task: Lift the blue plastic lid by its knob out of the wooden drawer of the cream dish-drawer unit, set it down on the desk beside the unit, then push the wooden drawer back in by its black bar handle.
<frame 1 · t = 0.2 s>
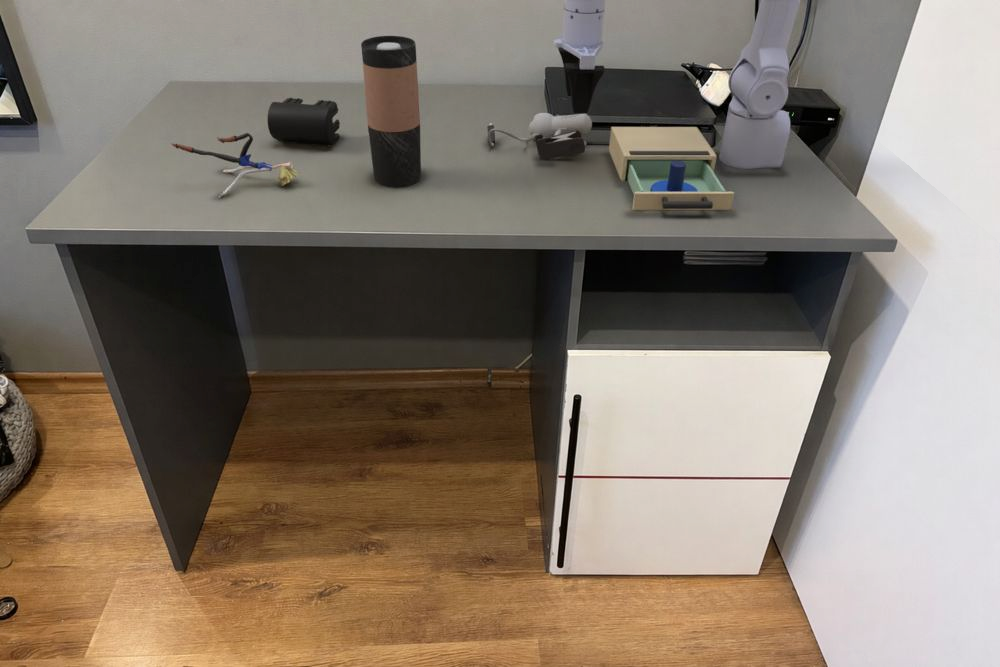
hand: (577, 103, 115), 10 cm above the table, tool pointing down, fingers open, 7 cm apart
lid: (673, 193, 111), point 1 cm above the table, touching wooden drawer
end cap: (308, 143, 126), on the table
wooden drawer: (675, 189, 110), point 2 cm above the table, slide at 9.0 cm, touching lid
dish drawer: (657, 169, 120), on the table
travel mug: (397, 178, 116), on the table
clip-on lamp: (534, 151, 125), on the table
spliced wire bundle: (248, 187, 112), on the table
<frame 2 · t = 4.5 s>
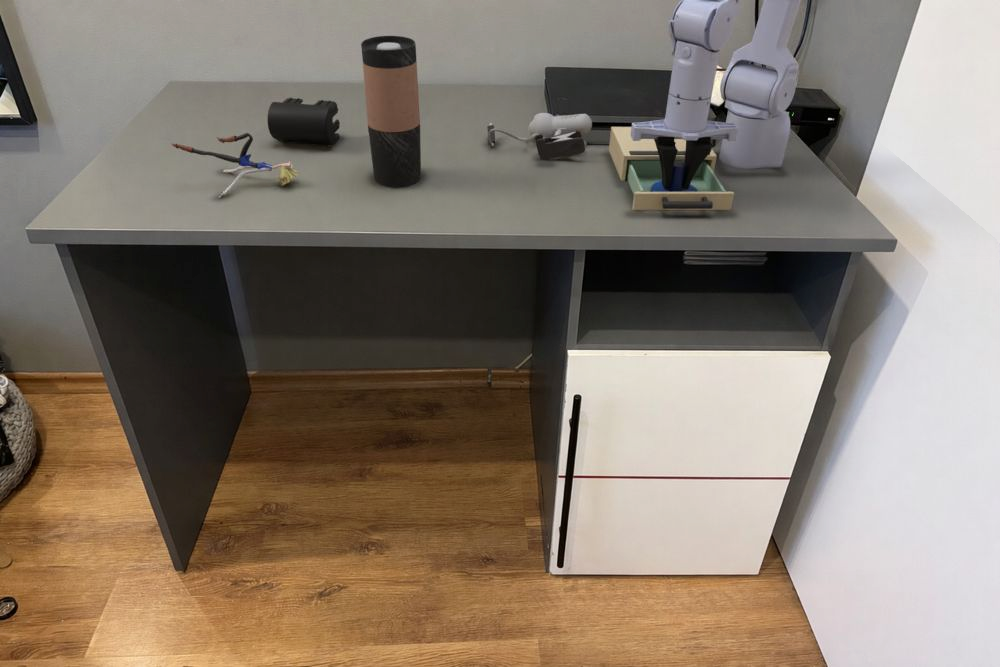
hand: (674, 186, 110), 2 cm above the table, tool pointing down, fingers closed on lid, 2 cm apart
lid: (673, 193, 111), point 1 cm above the table, touching gripper, wooden drawer
everything else where it was.
when the fingers open (1 cm above the table, at t = 8.7 s): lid stays where it is, on the table.
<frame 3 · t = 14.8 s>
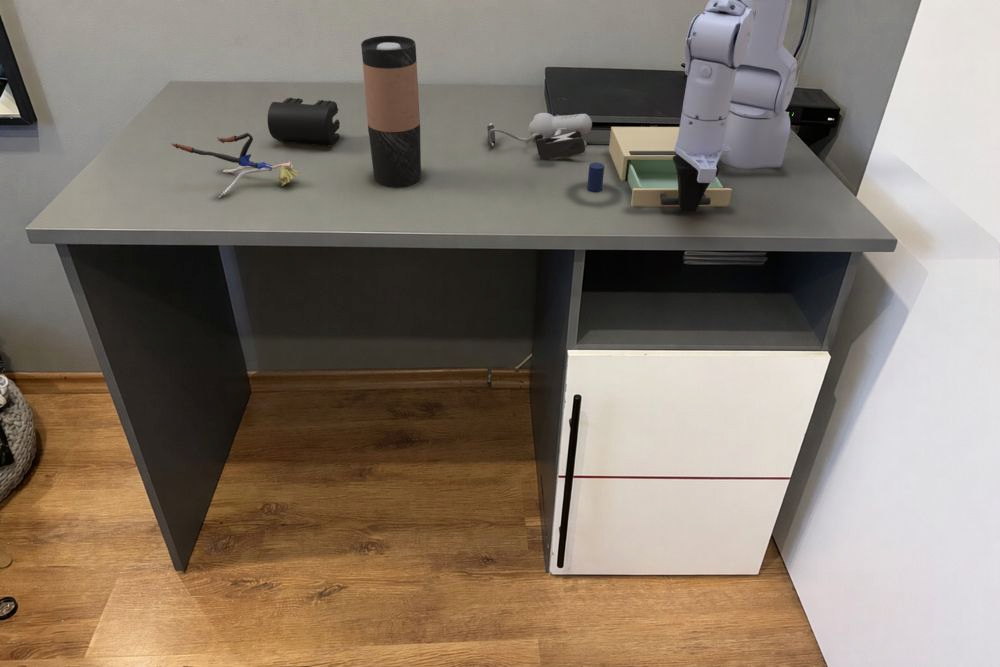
hand: (687, 209, 104), 2 cm above the table, tool pointing down, fingers closed
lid: (594, 194, 112), on the table
wooden drawer: (673, 185, 110), point 2 cm above the table, slide at 7.8 cm, touching gripper
everything else where it was.
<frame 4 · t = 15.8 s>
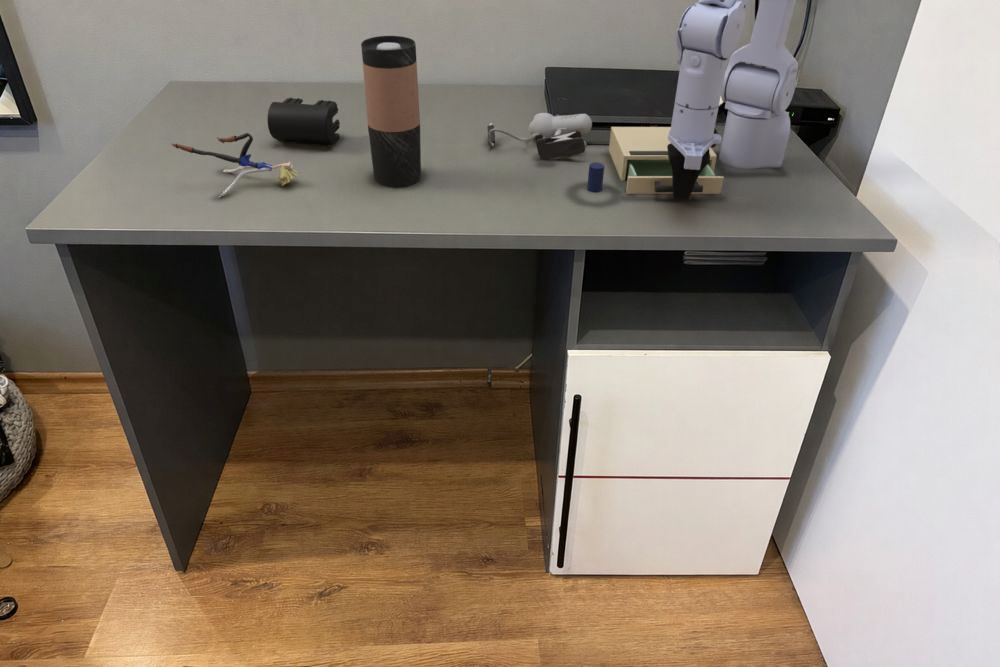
hand: (680, 197, 107), 2 cm above the table, tool pointing down, fingers closed
wooden drawer: (667, 174, 114), point 2 cm above the table, slide at 3.8 cm, touching gripper
everything else where it was.
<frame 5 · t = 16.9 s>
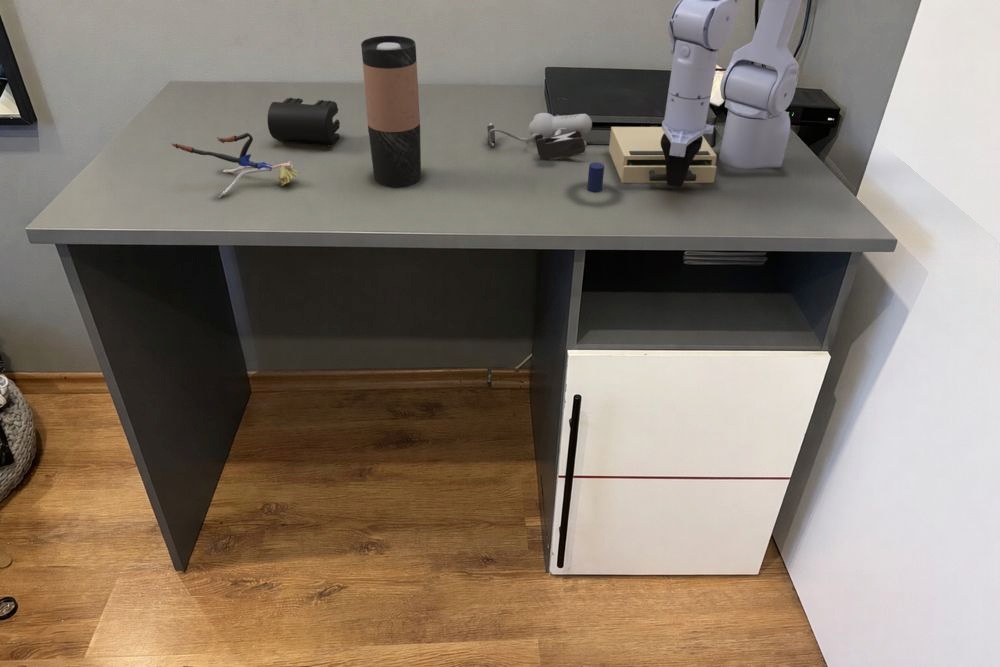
hand: (674, 185, 110), 2 cm above the table, tool pointing down, fingers closed
wooden drawer: (662, 164, 117), point 2 cm above the table, slide at -0.1 cm, touching gripper
everything else where it was.
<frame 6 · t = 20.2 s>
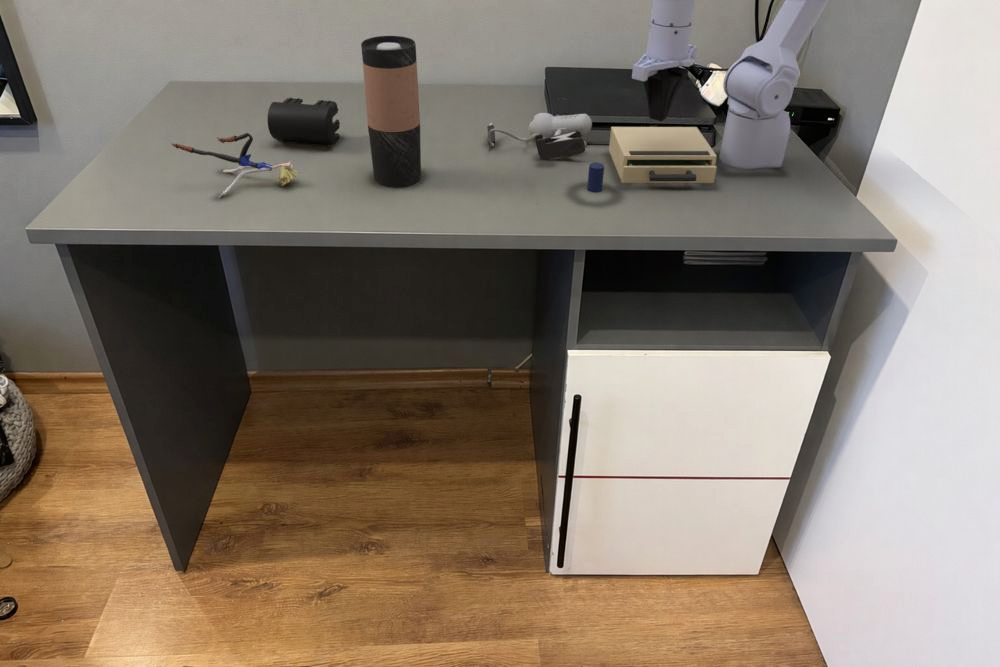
hand: (657, 118, 112), 9 cm above the table, tool pointing down, fingers closed
wooden drawer: (662, 164, 117), point 2 cm above the table, slide at 0.0 cm
everything else where it was.
at the end: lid 0.0 cm from the target spot, on the table; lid tilted 0°; wooden drawer slide at 0.0 cm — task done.
